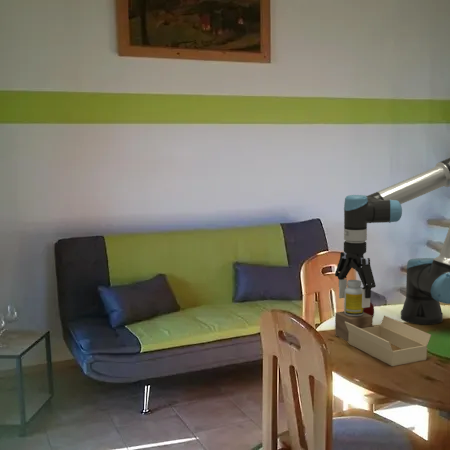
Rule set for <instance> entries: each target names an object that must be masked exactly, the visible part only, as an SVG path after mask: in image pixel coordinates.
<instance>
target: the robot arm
mask: <svg viewBox="0 0 450 450" xmlns="http://www.w3.org/2000/svg"><path fill="white" fill-rule="evenodd" d="M442 187H445V188H449V187H450V157H449V158H446V159H443V160H441V161H439V162H437V163H436V164H435V167H432V168H430V169H427V170H425V171H423V172H420V173H417V174H415V175H413V176H410V177H408V178H406V179H405V180H401V181H399V182H396V183H394V184H392V185H389V186H387V187H385V188H383V189H381V190H378V191H376V192H373V193H371V194H368V195H365V194H364V195H363V194H351V195H350V194H349V195H347V196H345V198H344V202H343V204H344V205H343V206H344V207H343V213H344V214H343V220H344V221H343V224H344V225H343V230H344V231H343V240H344V241H343V251H341V252H339V253H340V254H339V255H340V257H339V260H338V263H337V267H336V270H335V273H334V276H335V277H337V279H338V298H339V299H344V293H345V289H346V288H347V287H348V285H347V281H348V279H347V276H348V274H350V272H351V270H352V269H353V270H355V272H357V274H358V276H359V279H360V281H361V285H362V286H363V287H361V288H362V308H367V307H370V303H371V298H372V289H374V288H376V285H377V284H376V282H375V278H374V273H373V270H372V267H371V258H369V257H366V258H365V256H364V254H366V253H367V240H368V238H367V236H368V234H367V231H368V224H372V223H373V224H375V223H377V224H378V223H382V224H383V223H390V224H391V223H394V222H395V223H397V222H399V221H400V220H401V218H402V216H403V207H402V204H405V203H407V202H409V201H412V200H414V199H416V198H418V197H421V196H424V195H427V194H428V193H431V192H433V191H435V190H439V189H440V188H442ZM448 227H449V228H448V229H447V233H446V237H445V239H444V242H443V244H442V247H441V249H440V254H439V255H438V256H437V257H429V258H428V257H425V258H423V257H419V258H410V259H408V261H407V263H406V269H405V270H406V283H405V284H406V286H405V287H406V288H405V289H406V290H405V291H406V292H405V293H406V294H405V300H404V303H403V306H402V309H401V311H400V319H401V320H403V321H404V322H407V323H410V324H415V325H438V324H440V323H442V322H443V319H444V314H443V311H442V306H441V303H443V304H446V305H450V226H448Z"/></svg>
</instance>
